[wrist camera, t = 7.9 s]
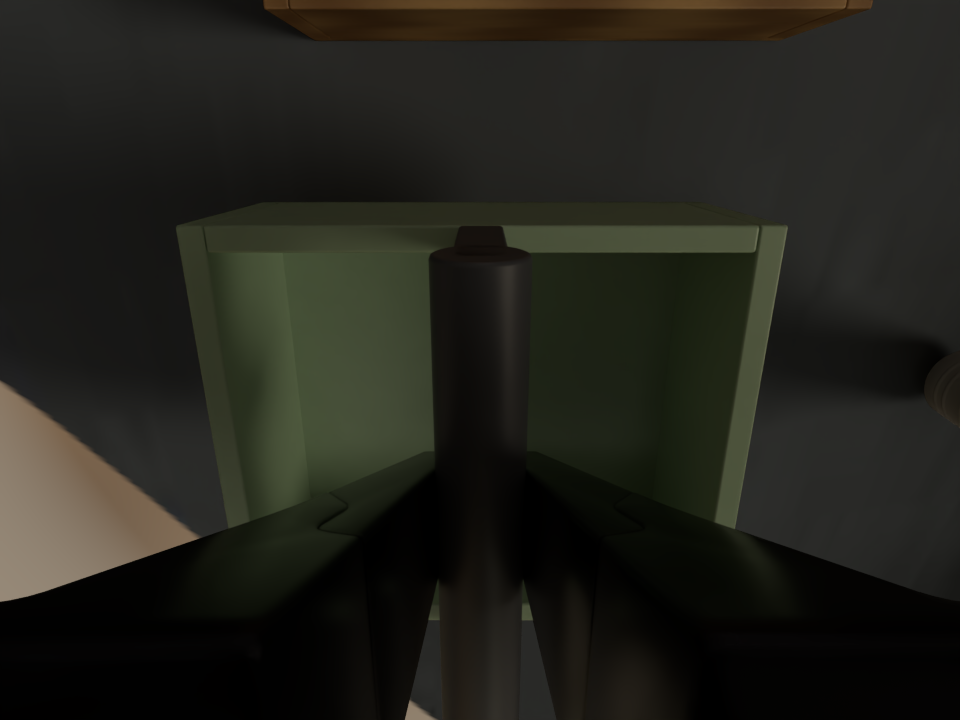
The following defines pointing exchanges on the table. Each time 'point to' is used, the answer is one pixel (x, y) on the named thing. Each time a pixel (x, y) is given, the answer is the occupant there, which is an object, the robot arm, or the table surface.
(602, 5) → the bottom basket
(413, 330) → the top basket
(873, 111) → the table surface
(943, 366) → the lightbulb
